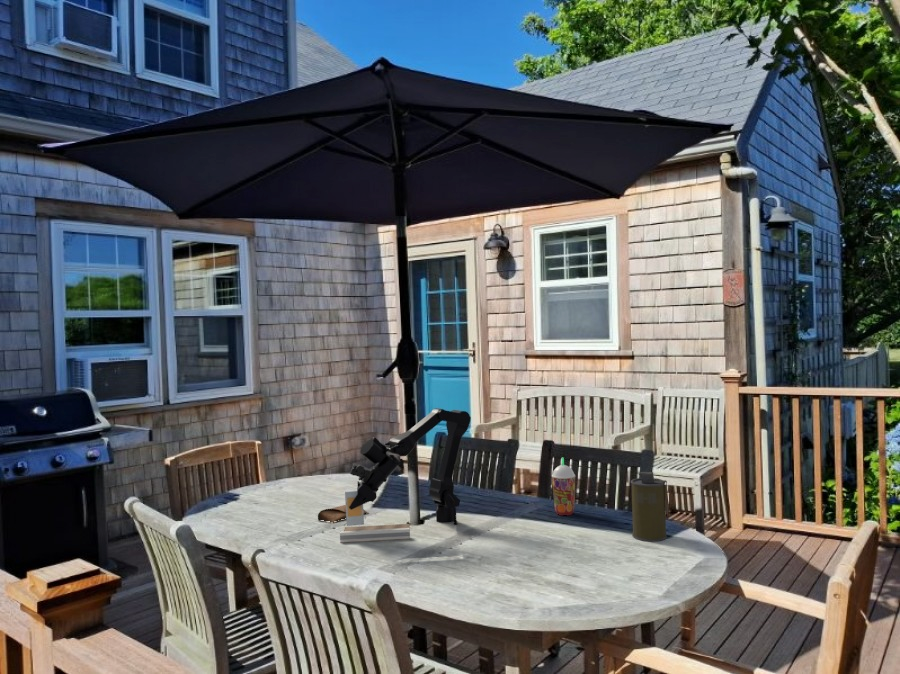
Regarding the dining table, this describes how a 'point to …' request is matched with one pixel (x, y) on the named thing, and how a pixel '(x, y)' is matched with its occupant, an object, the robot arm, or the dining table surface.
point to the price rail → (375, 535)
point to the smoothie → (563, 489)
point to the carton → (355, 514)
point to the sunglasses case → (334, 514)
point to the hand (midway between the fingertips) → (350, 506)
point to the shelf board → (376, 529)
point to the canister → (649, 507)
